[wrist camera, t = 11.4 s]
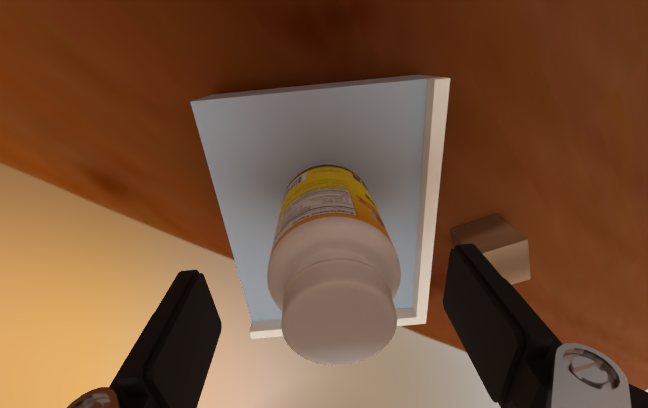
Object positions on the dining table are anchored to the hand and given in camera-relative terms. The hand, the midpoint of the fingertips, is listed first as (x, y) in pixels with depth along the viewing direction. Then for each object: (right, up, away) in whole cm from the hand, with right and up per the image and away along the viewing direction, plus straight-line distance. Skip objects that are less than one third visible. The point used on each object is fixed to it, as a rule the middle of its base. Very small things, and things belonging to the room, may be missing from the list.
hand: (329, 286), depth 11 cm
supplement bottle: (0, +4, +8) cm, 9 cm away
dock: (0, +3, +12) cm, 13 cm away
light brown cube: (+13, 0, +15) cm, 20 cm away
